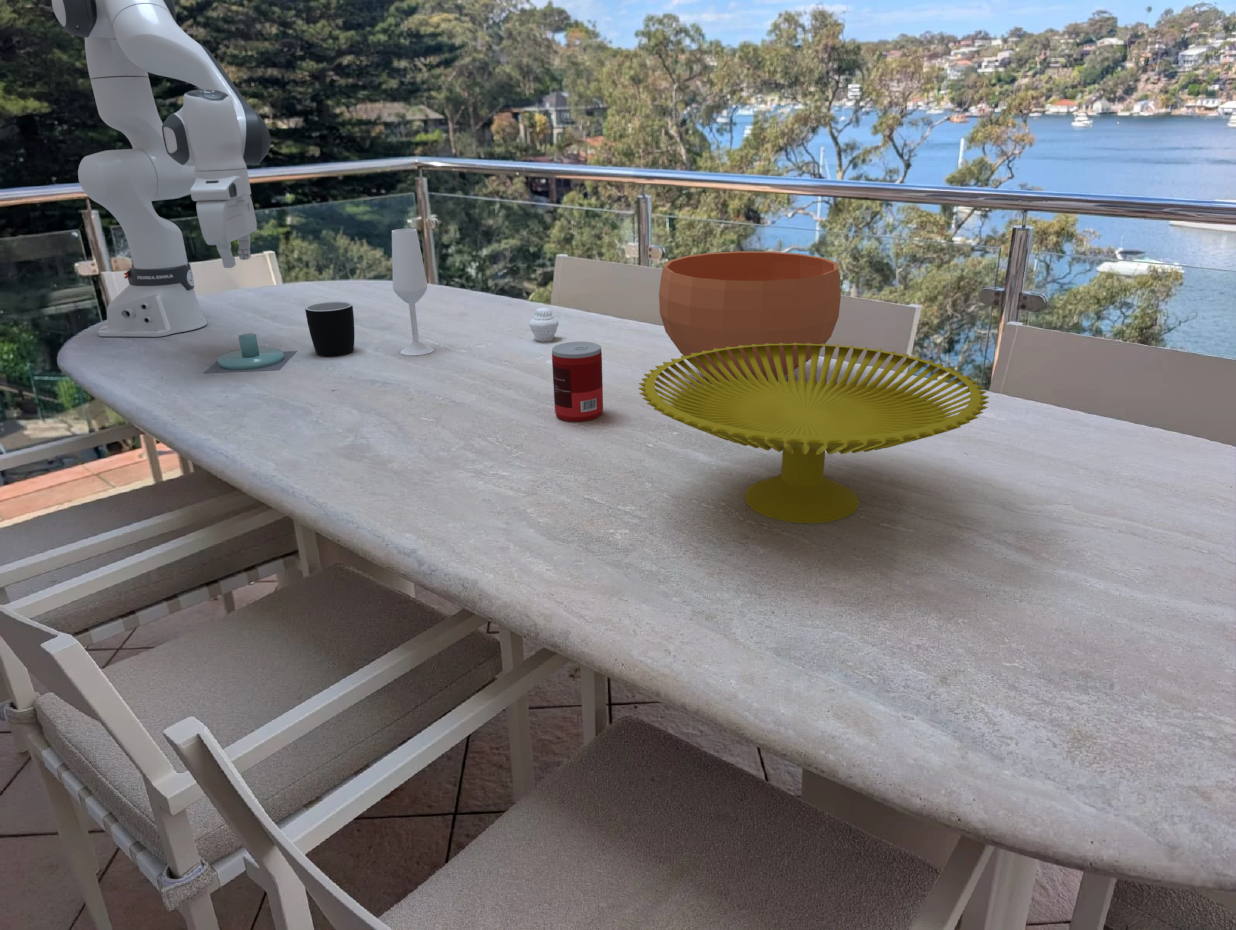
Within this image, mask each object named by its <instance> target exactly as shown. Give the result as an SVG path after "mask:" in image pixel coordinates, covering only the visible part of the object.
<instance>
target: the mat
mask: <svg viewBox="0 0 1236 930" xmlns="http://www.w3.org/2000/svg"><path fill="white" fill-rule="evenodd" d="M282 351H283V353H284V360H283V361H282V362H280V363H278V364H275V365H272V366H268V367H264V368H258V369H250V370H227V369H223V368H220V367H219V364H218V360H217V361H216V362H214V363H213V364H212V365H211V366H210V367H208V368H207V369H206V370H205V371H204V372H203V374H221V373H223V374H226V373H243V372H244V373H246V372H268V371H269V372H270V371H272V372H273V371H280V370H281V369H282V368H283V367H284V366H285V365H286V364H287V363H288V362H289V361H290V360H291V358H293V357H294V355H296V354H297V352H298V350H288V351H285V350H282Z"/></svg>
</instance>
